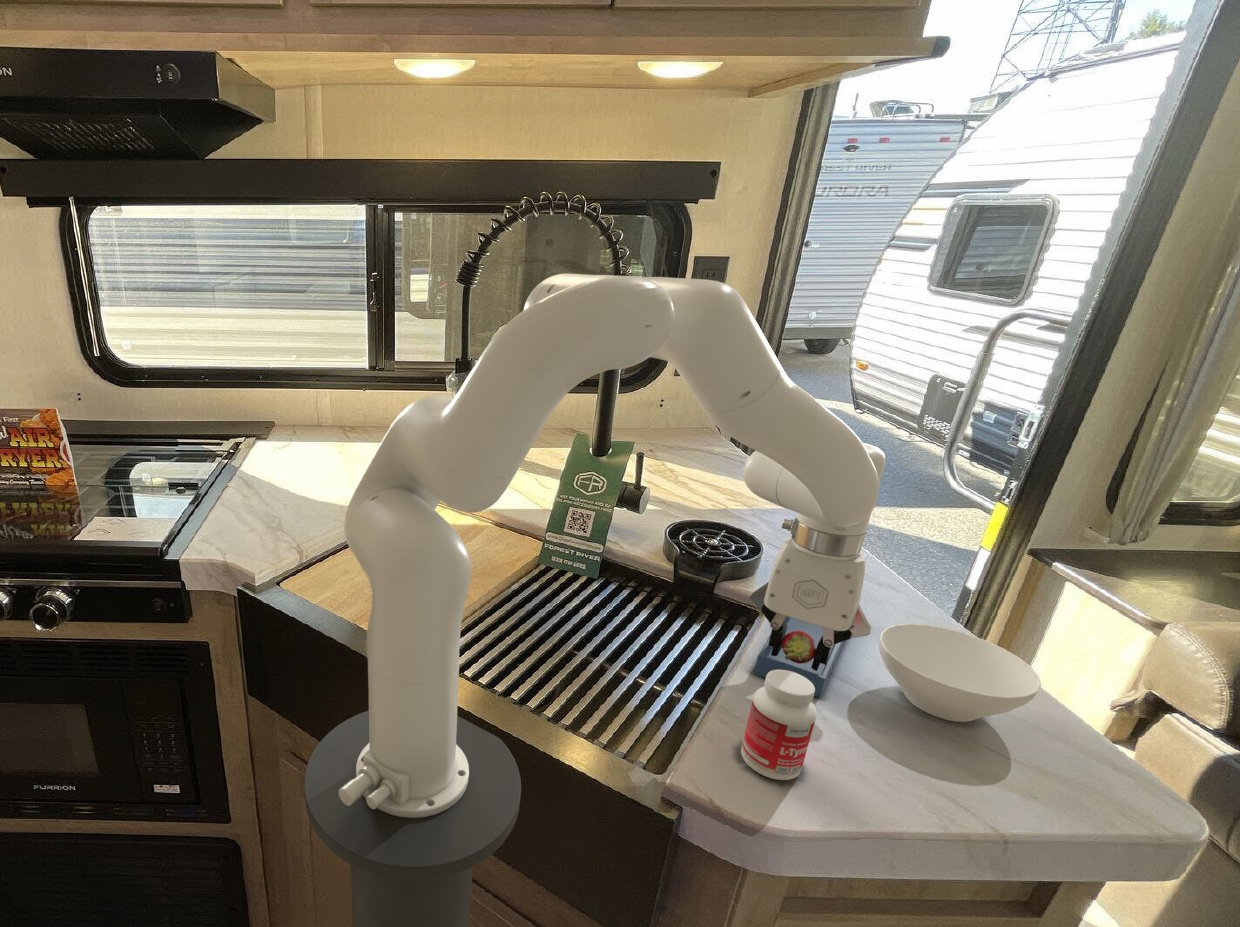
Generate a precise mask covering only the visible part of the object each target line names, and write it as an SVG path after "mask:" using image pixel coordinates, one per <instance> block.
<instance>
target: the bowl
mask: <svg viewBox="0 0 1240 927" xmlns="http://www.w3.org/2000/svg"><path fill="white" fill-rule="evenodd" d="M878 650H879V655H880V657H881V659H882V661H883V663H884V665H885V668H886V670H887V671H888V672H889V675H890V676H891V677H892V678H893V679H894V680H895V682H896V683H897V685H898V686H899V688H900V689H901V690H902V692H903V694H904V696H905V698H906V699H907V700H908V701H909V702H910V703H911V704H912V705H913V706H915V707H916V708H917V709H919V710H921V711H923V712H924V713H926V714H929V715H931V716H933V717H936V718H939V719H942V720H946V721H950V722H957V723H967V722H973V721H975V720H977V719H981V718H985V717H991V716H997V715H1001V714H1005V713H1009V712H1012V711H1013V710H1016V709H1019V708H1020V707H1023V706H1025V705H1027V704H1028V703H1030V702H1031V701H1032V700H1033V699H1035V697H1036V695H1038V692H1039V690H1040V689H1041V687H1042V682H1041V679H1040V675H1039V674H1038V673H1037V672H1036V671H1035V670H1034V668H1033V667H1032V666H1031V665H1030V664H1028V663H1027V662H1026V661H1024V660H1023V659H1022V658H1020V657H1019V656H1017V655H1016V654H1014V653H1012V652H1010V651H1009V650H1007V649H1005V648H1003V647H1001V646H998V645H997V644H995V643H992V642H991V641H988V640H985V639H983V638H980V637H977V636H975V635H972V634H969V633H967V632H963V631H958V630H955V629H951V628H947V627H942V626H936V625H930V624H922V623H921V624H919V623H902V624H901V623H900V624H894V625H891V626H888V627H886V628H885V629H883V631H882V632H880V637H879V643H878Z"/></svg>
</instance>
